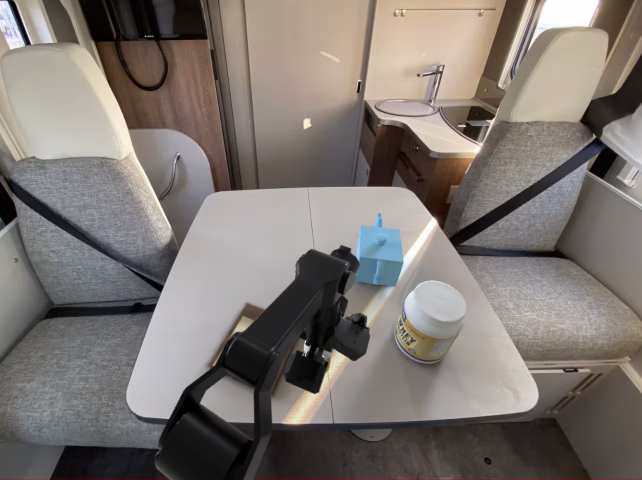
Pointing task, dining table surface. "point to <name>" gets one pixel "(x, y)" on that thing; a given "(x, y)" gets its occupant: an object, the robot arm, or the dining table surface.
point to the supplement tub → (430, 321)
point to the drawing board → (241, 325)
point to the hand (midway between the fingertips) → (317, 357)
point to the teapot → (379, 254)
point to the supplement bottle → (325, 354)
